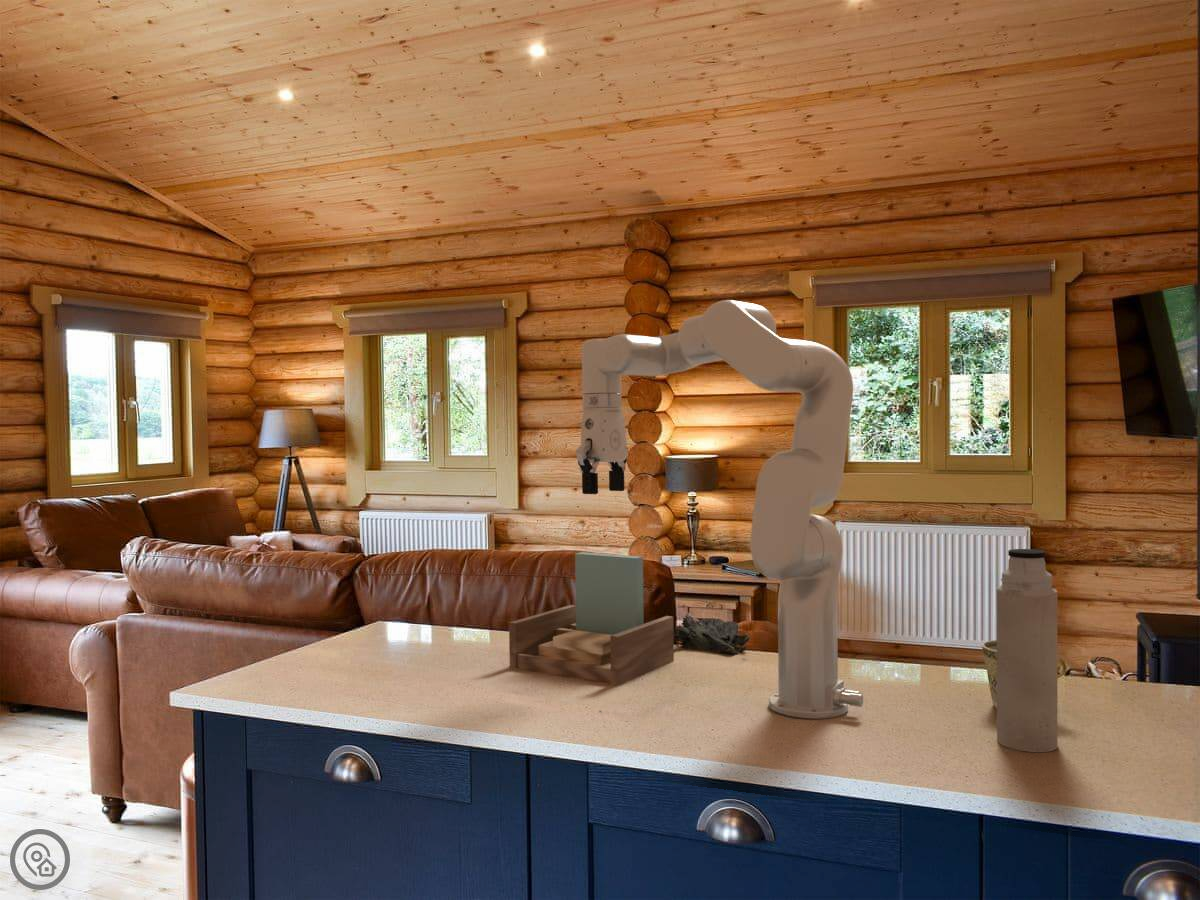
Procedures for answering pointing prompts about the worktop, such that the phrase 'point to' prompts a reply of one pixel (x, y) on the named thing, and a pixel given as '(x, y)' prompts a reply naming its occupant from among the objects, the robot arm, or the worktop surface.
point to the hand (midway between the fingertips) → (603, 492)
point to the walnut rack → (628, 648)
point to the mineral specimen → (710, 635)
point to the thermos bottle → (1027, 654)
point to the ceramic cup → (991, 667)
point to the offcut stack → (579, 648)
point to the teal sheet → (608, 592)
